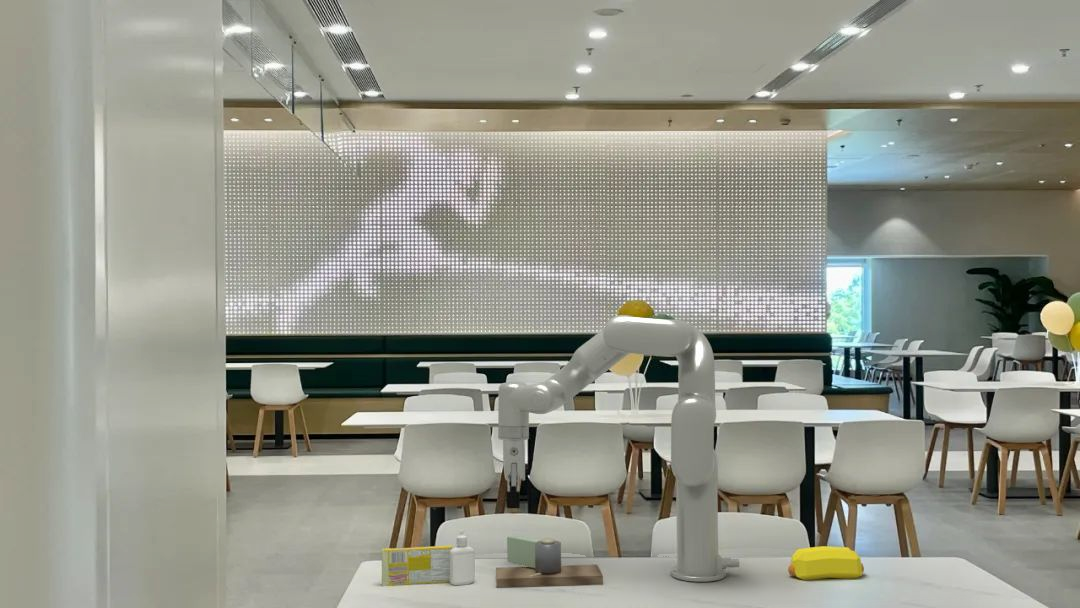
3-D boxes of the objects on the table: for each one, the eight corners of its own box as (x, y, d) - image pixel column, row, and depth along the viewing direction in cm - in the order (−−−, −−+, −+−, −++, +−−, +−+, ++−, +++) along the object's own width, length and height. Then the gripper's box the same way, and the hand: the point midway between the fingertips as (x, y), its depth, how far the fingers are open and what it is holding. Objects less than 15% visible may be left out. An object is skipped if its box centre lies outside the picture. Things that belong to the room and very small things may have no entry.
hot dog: (871, 580, 217) (857, 571, 225) (870, 550, 217) (856, 543, 225) (793, 582, 216) (782, 574, 223) (793, 553, 216) (782, 545, 224)
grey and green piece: (566, 569, 220) (566, 539, 220) (549, 574, 216) (549, 543, 216) (518, 559, 230) (518, 530, 230) (501, 564, 226) (501, 534, 226)
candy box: (452, 580, 221) (452, 544, 221) (453, 583, 219) (452, 547, 219) (382, 584, 219) (381, 547, 219) (381, 586, 217) (381, 550, 217)
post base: (597, 572, 226) (597, 563, 226) (602, 584, 216) (602, 574, 216) (496, 576, 224) (495, 566, 224) (496, 587, 214) (496, 577, 214)
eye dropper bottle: (472, 585, 216) (471, 532, 216) (448, 585, 217) (447, 532, 217) (476, 580, 220) (475, 528, 221) (452, 580, 221) (451, 528, 221)
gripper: (530, 436, 227) (529, 513, 227) (527, 429, 242) (526, 501, 242) (498, 436, 227) (498, 514, 226) (497, 429, 241) (497, 502, 241)
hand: (512, 507), depth 234 cm, fingers closed
